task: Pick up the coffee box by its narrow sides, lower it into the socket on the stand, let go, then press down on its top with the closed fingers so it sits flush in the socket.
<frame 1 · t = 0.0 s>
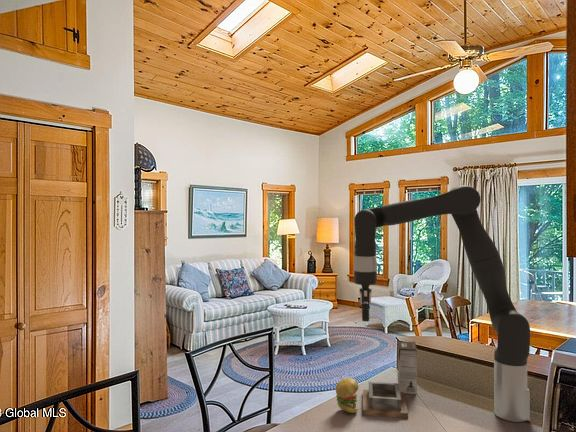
hand: (365, 317, 143), 29 cm above the kitchen counter, tool pointing down, fingers open, 8 cm apart
coffee box: (407, 389, 156), on the kitchen counter
hamburger: (347, 412, 138), on the kitchen counter
socket stand: (384, 405, 143), on the kitchen counter
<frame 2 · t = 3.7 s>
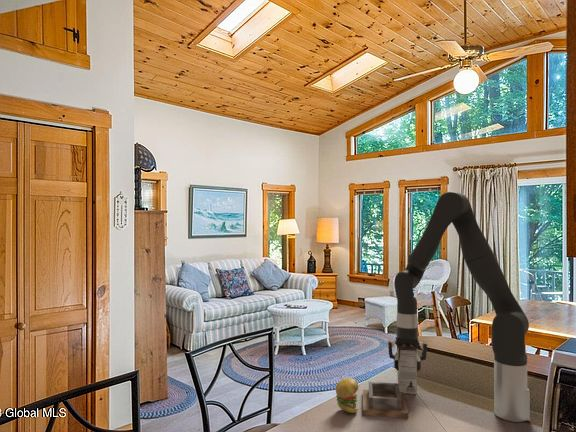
hand: (407, 370, 156), 7 cm above the kitchen counter, tool pointing down, fingers closed on coffee box, 6 cm apart
coffee box: (407, 389, 156), on the kitchen counter, touching gripper
everything else where it was.
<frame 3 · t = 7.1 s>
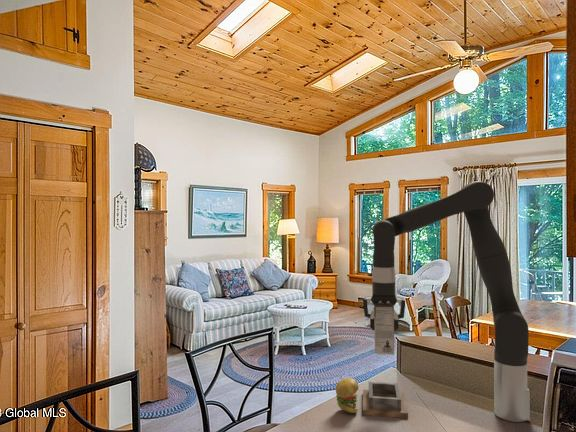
hand: (384, 329, 143), 25 cm above the kitchen counter, tool pointing down, fingers closed on coffee box, 6 cm apart
coffee box: (384, 350, 143), point 18 cm above the kitchen counter, touching gripper
everything else where it was.
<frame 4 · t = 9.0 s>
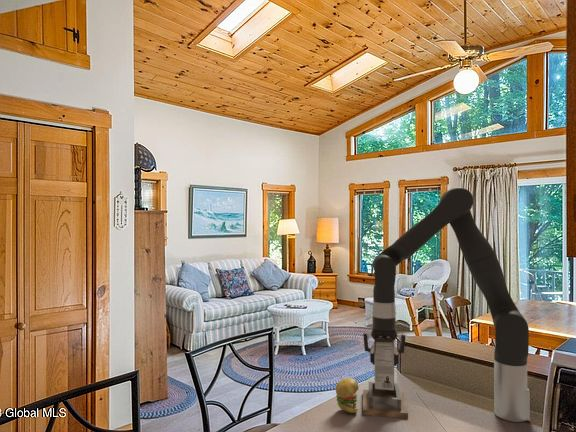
hand: (384, 364, 143), 14 cm above the kitchen counter, tool pointing down, fingers closed on coffee box, 6 cm apart
coffee box: (384, 385, 143), point 7 cm above the kitchen counter, touching gripper
everything else where it was.
when the fingers open (9 cm above the kitchen counter, at t = 10.6 s): coffee box stays where it is, resting on socket stand.
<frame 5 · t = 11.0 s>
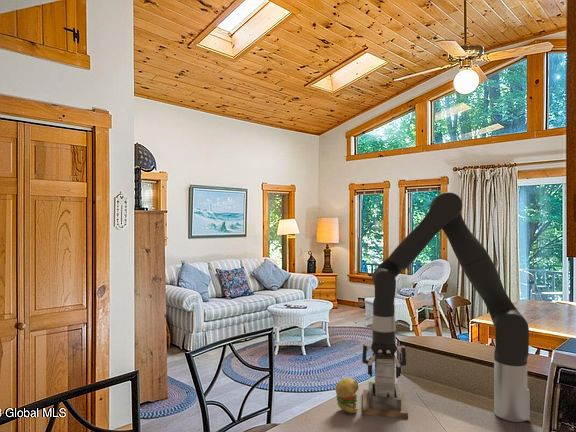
hand: (384, 376, 143), 10 cm above the kitchen counter, tool pointing down, fingers open, 8 cm apart
coffee box: (384, 401, 143), point 1 cm above the kitchen counter, touching socket stand
everything else where it was.
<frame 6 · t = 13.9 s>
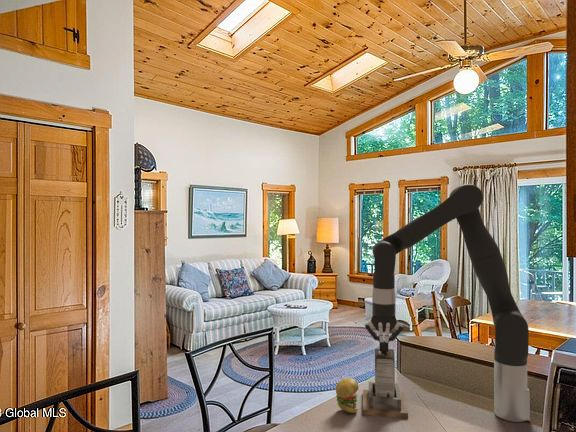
hand: (383, 352, 143), 18 cm above the kitchen counter, tool pointing down, fingers closed
coffee box: (384, 401, 143), point 1 cm above the kitchen counter, touching gripper, socket stand
everything else where it was.
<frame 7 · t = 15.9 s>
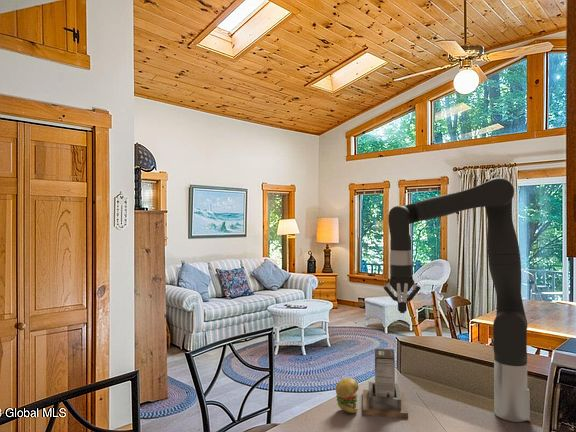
hand: (402, 312, 149), 29 cm above the kitchen counter, tool pointing down, fingers closed
coffee box: (384, 401, 143), point 1 cm above the kitchen counter, touching socket stand
everything else where it was.
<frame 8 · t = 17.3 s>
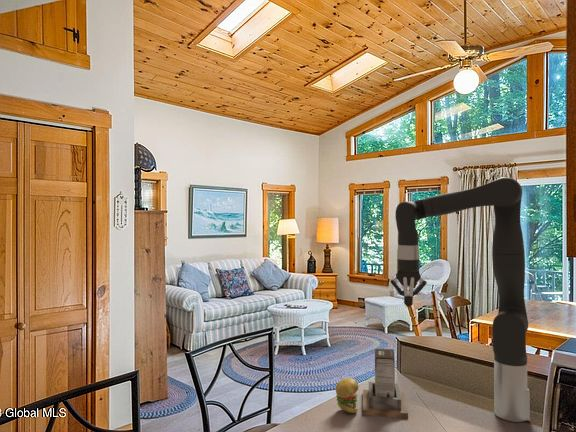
hand: (408, 306, 152), 31 cm above the kitchen counter, tool pointing down, fingers closed
nothing on the kitchen counter moved.
at the end: coffee box 0.2 cm off-centre on the socket stand, point 1.3 cm above the socket stand's base; coffee box tilted 0°; the gripper is holding nothing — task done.
